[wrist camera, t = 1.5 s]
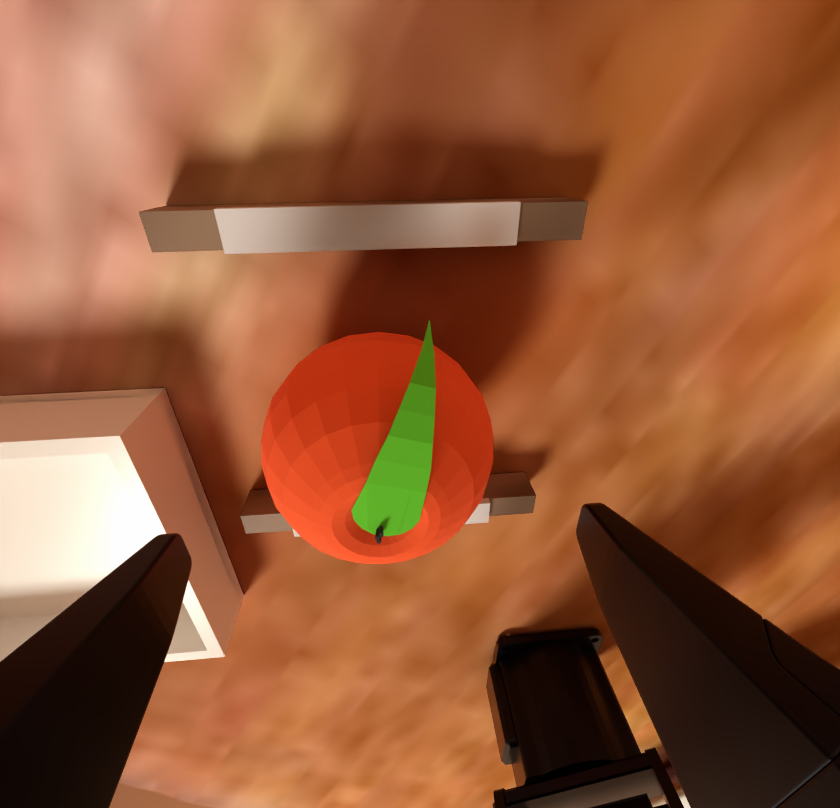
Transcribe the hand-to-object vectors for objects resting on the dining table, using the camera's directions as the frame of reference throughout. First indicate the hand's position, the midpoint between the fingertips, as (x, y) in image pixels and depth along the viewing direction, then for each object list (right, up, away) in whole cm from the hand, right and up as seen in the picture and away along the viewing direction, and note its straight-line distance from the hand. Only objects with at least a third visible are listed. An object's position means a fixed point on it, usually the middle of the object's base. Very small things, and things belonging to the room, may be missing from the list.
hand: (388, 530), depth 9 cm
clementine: (-1, +4, +6) cm, 8 cm away
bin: (-15, -2, +8) cm, 17 cm away
